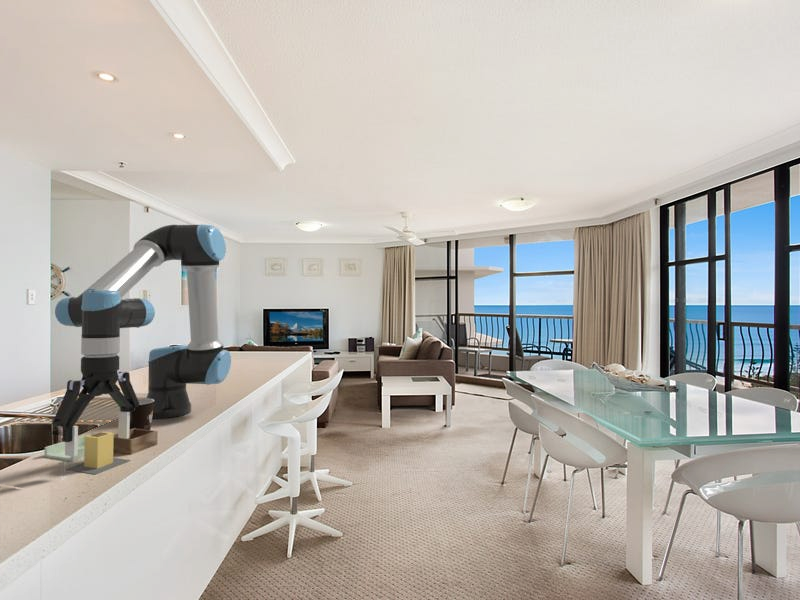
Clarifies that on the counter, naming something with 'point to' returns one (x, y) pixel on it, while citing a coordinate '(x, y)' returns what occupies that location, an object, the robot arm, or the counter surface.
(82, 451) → the sage tray
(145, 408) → the coffee mug
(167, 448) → the counter surface
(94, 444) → the yellow block
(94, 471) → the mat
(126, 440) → the walnut box
